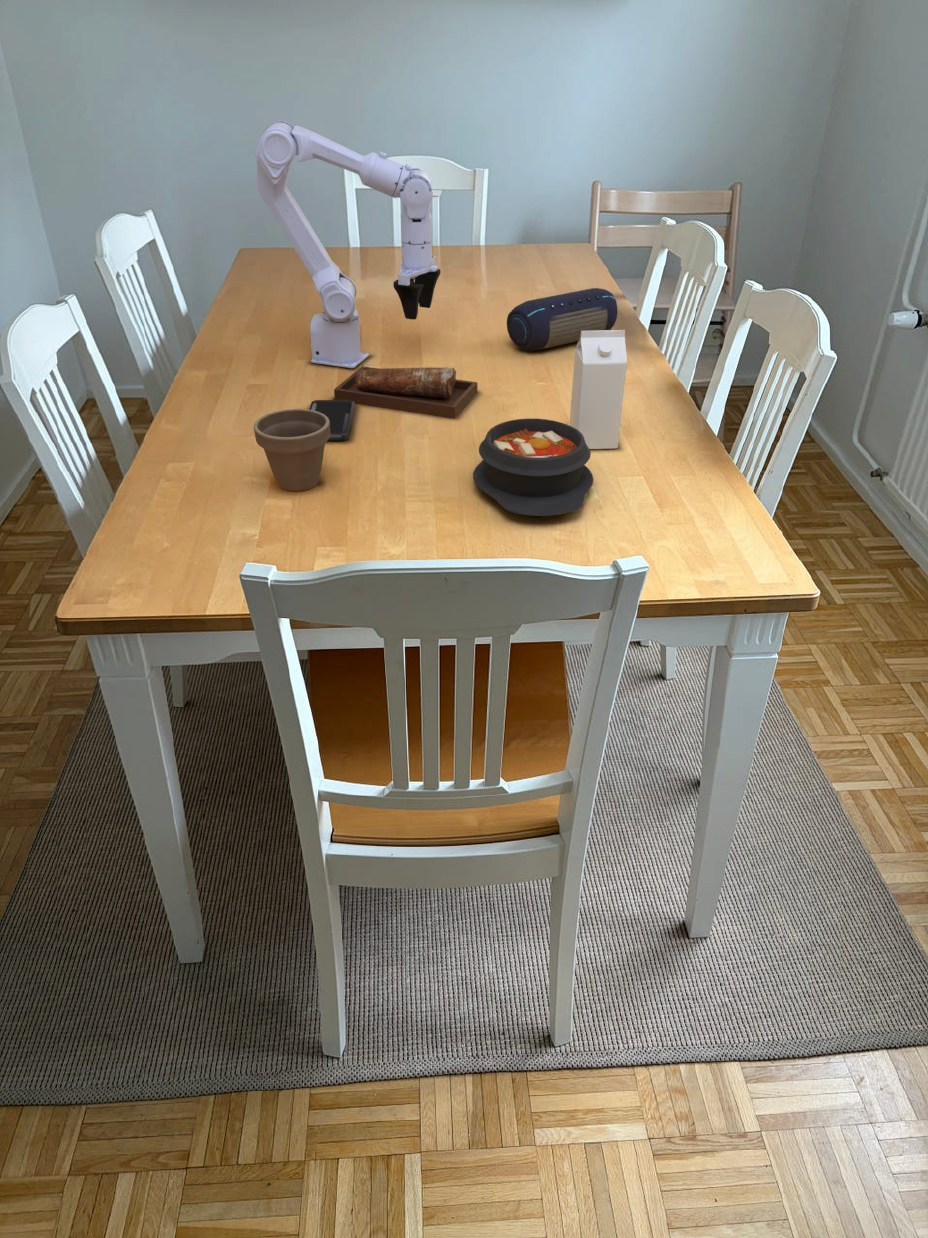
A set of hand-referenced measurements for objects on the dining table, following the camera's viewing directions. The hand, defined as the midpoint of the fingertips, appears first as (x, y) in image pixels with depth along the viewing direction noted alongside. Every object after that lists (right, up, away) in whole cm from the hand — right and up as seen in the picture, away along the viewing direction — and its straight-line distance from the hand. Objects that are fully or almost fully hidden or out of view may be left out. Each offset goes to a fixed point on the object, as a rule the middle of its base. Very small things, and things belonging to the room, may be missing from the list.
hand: (418, 312), depth 188 cm
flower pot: (-17, -39, -39) cm, 58 cm away
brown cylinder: (-2, -19, -11) cm, 22 cm away
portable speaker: (+30, -2, +14) cm, 33 cm away
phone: (-14, -26, -21) cm, 36 cm away
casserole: (+20, -40, -40) cm, 60 cm away
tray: (-2, -19, -11) cm, 22 cm away
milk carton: (+31, -30, -26) cm, 50 cm away
